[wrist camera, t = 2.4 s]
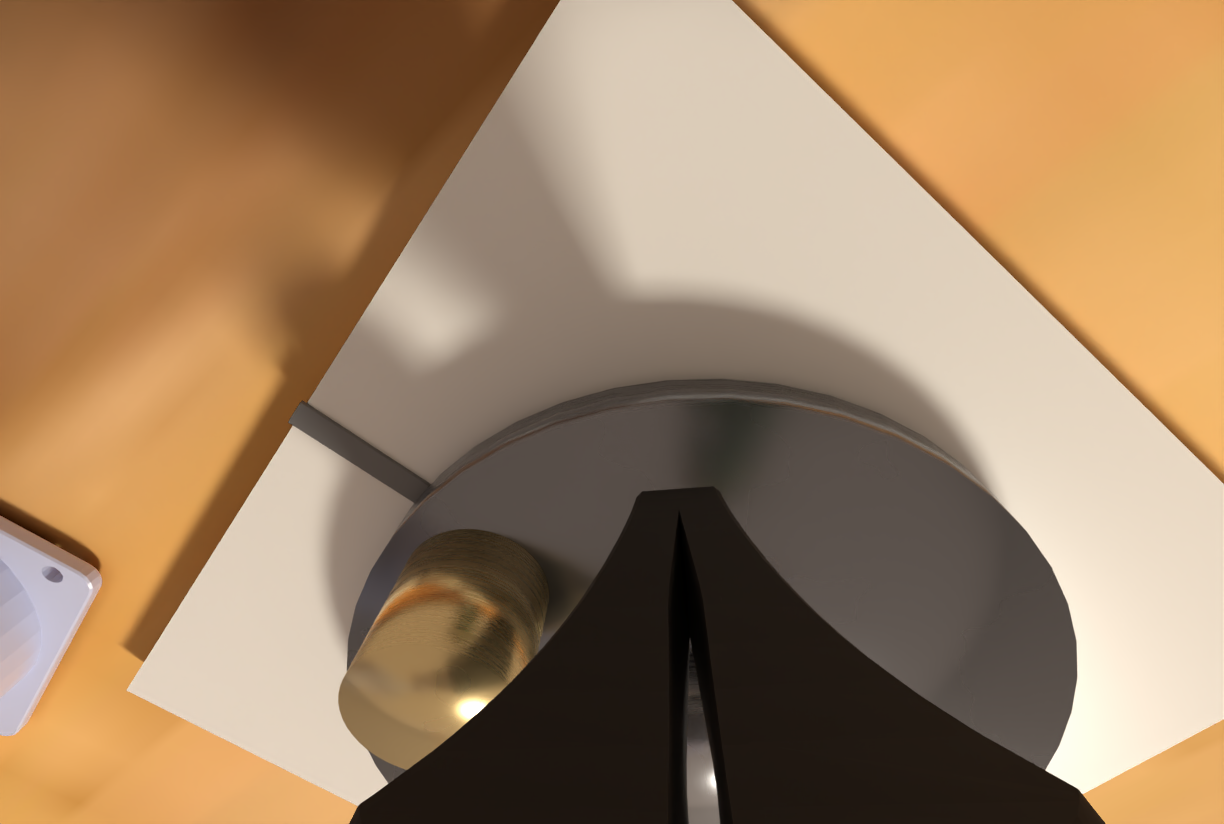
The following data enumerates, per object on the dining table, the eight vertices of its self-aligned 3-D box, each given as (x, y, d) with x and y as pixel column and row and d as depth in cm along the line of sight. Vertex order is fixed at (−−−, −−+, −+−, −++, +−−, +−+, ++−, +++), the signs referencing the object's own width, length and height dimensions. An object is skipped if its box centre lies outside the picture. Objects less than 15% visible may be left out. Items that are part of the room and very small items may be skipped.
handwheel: (260, 699, 16) (141, 875, 12) (651, 199, 10) (652, 242, 7) (715, 937, 20) (730, 1130, 16) (1193, 661, 14) (1395, 861, 10)
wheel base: (143, 667, 18) (110, 702, 17) (622, -93, 10) (619, -119, 9) (715, 960, 23) (718, 1002, 22) (1343, 611, 15) (1397, 650, 14)
